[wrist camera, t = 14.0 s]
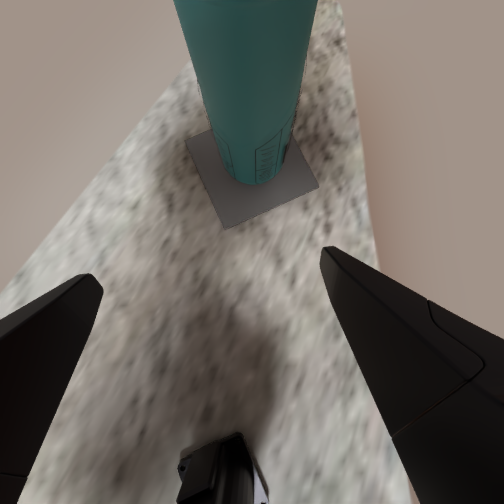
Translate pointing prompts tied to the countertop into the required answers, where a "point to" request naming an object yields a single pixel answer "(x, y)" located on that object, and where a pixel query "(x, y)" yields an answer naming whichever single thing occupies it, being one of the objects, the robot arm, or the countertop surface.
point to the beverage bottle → (249, 76)
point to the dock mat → (245, 195)
